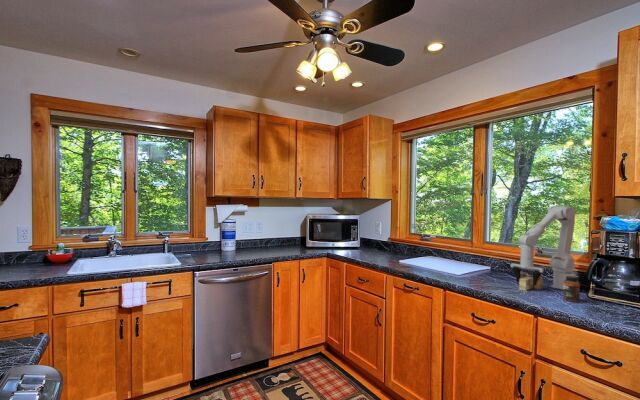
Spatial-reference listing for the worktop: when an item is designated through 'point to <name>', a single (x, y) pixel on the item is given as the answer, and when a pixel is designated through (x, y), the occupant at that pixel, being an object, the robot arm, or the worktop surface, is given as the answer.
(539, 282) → the bracket
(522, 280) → the beige block
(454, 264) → the worktop surface
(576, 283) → the supplement bottle
